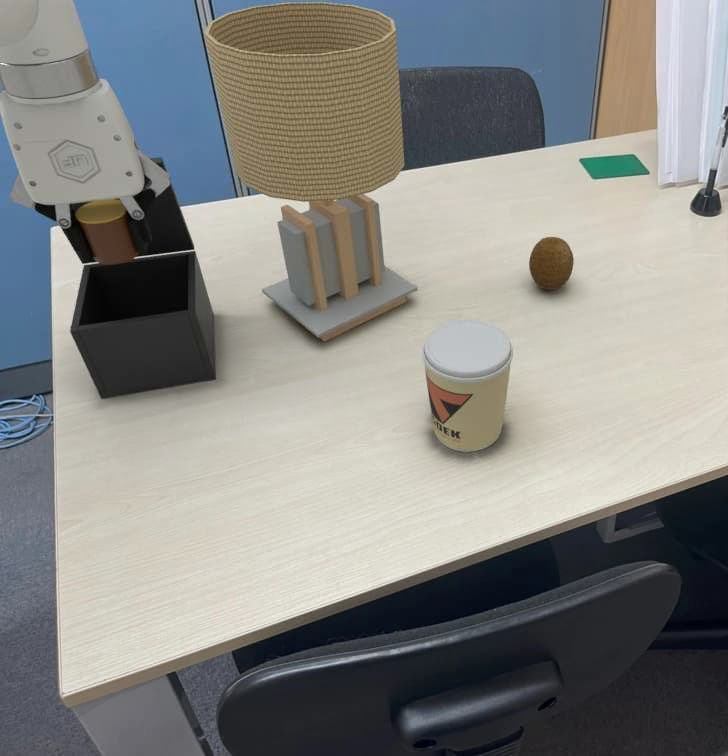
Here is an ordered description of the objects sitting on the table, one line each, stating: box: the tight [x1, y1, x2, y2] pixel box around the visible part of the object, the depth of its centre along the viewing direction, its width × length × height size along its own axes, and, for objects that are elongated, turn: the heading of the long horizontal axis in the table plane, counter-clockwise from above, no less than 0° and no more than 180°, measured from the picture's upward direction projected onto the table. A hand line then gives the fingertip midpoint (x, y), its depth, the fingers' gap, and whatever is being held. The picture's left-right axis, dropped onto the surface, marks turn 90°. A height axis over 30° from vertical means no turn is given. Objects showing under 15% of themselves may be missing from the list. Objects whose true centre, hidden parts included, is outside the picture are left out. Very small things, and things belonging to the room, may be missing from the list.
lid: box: [60, 156, 195, 265], centre depth 81 cm, size 14×13×5 cm
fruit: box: [528, 236, 575, 290], centre depth 100 cm, size 6×6×8 cm
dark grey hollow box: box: [69, 250, 217, 400], centre depth 85 cm, size 14×13×10 cm
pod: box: [75, 199, 139, 265], centre depth 73 cm, size 5×5×5 cm
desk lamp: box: [203, 1, 418, 343], centre depth 86 cm, size 20×20×35 cm
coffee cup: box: [421, 318, 514, 453], centre depth 76 cm, size 9×9×12 cm
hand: (116, 249), depth 75 cm, fingers closed on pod, 4 cm apart
